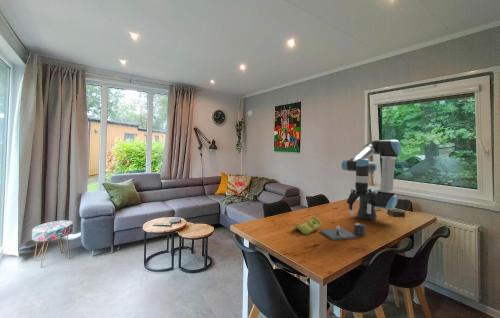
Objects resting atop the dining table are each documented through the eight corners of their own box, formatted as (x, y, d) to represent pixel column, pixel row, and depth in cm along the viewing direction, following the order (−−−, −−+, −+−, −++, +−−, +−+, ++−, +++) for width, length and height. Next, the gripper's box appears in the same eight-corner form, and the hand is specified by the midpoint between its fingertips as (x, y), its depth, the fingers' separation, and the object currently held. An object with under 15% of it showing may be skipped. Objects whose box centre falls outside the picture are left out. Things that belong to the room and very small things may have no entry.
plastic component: (306, 232, 148) (295, 222, 155) (303, 240, 151) (292, 230, 158) (323, 223, 161) (312, 214, 167) (319, 231, 164) (309, 222, 170)
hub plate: (343, 230, 159) (343, 221, 159) (358, 238, 145) (358, 229, 144) (320, 232, 155) (320, 223, 154) (333, 241, 140) (333, 231, 140)
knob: (360, 232, 156) (360, 221, 156) (367, 235, 150) (367, 225, 149) (351, 233, 154) (352, 222, 154) (358, 236, 148) (359, 225, 148)
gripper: (373, 181, 157) (371, 211, 158) (341, 181, 151) (340, 213, 152) (381, 182, 150) (380, 214, 150) (349, 183, 143) (347, 216, 144)
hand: (360, 214), depth 151 cm, fingers open, 13 cm apart
